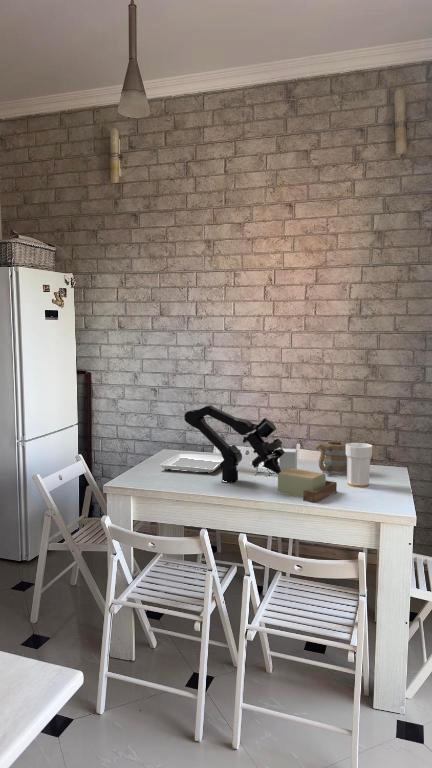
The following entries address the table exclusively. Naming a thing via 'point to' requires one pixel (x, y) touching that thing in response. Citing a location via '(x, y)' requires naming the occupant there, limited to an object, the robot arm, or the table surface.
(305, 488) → the tea box
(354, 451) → the cup
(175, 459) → the square plate
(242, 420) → the robot arm
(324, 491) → the bracket
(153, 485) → the table surface
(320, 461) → the tankard
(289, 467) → the supplement box
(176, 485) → the table surface
